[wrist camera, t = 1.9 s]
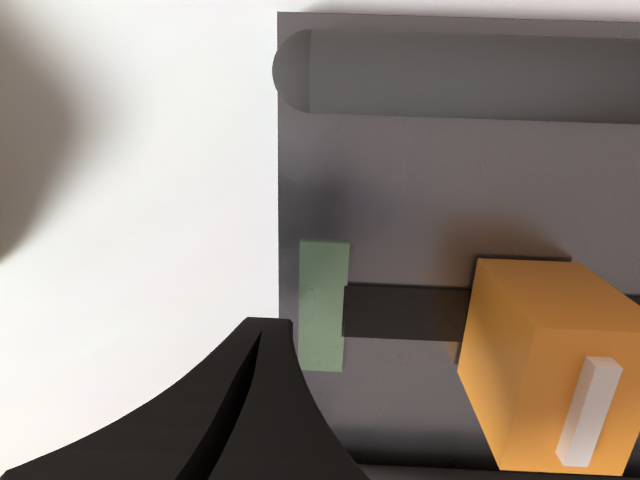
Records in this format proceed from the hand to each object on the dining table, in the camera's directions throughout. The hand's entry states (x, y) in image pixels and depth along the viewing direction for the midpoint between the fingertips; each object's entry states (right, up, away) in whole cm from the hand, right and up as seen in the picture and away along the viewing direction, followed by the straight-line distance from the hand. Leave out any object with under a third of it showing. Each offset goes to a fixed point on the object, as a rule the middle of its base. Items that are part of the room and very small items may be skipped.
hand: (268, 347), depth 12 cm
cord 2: (+8, +8, -1) cm, 11 cm away
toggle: (+8, 0, +2) cm, 8 cm away
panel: (+8, +1, +3) cm, 9 cm away
